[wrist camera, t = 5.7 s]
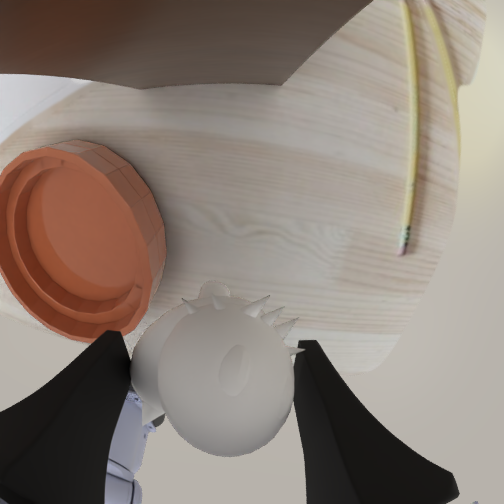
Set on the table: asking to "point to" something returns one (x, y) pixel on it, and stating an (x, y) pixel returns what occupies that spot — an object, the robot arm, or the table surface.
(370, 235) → the table surface
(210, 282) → the toy creature
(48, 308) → the bowl
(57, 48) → the taupe notched tower
